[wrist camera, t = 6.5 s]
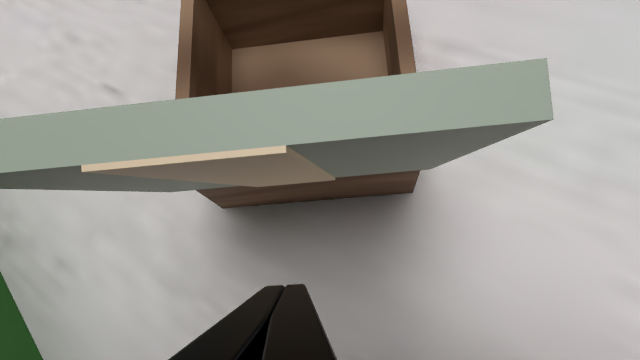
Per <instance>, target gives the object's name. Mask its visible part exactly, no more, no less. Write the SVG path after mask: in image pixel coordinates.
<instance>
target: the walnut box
mask: <svg viewBox="0 0 640 360" xmlns="http://www.w3.org/2000/svg"><path fill="white" fill-rule="evenodd" d="M409 73H416V67H415V60H414V53H413V46H412V39H411V31H410V24H409V17H408V10H407V3H406V0H181V12H180V29H179V46H178V63H177V80H176V97H175V100H176V99H185V98H194V97H203V96H212V95H221V94H230V93H239V92H248V91H257V90H266V89H275V88H284V87H293V86H302V85H311V84H320V83H328V82H337V81H346V80H355V79H364V78H373V77H382V76H391V75H400V74H409ZM419 172H420V170H416V171H404V172H393V173H382V174H370V175H359V176H348V177H336V178H335V180H332V181H321V182H310V183H298V184H287V185H275V186H264V187H251V186H234V187H223V188H211V189H200V190H196V191H198V192H199V193H201V194H202V195H204V196H205V197H207V198H208V199H210V200H211V201H213V202H214V203H216V204H217V205H219V206H220V207H222V208H232V207H244V206H256V205H268V204H280V203H292V202H304V201H316V200H328V199H340V198H352V197H364V196H376V195H389V194H401V193H413V190H414V187H415V184H416V181H417V178H418V175H419Z"/></svg>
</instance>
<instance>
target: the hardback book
mask: <svg viewBox="0 0 640 360" xmlns="http://www.w3.org/2000/svg"><path fill="white" fill-rule="evenodd" d="M0 360H43V358H42V356H41V354H40V352H39V350H38V348H37V346H36V344H35V342H34V340H33V338H32V336H31V334H30V332H29V330H28V328H27V326H26V324H25V322H24V319H23V317H22V315H21V313H20V311H19V309H18V307H17V305H16V303H15V301H14V299H13V297H12V295H11V293H10V291H9V289H8V287H7V285H6V282H5V280H4V278H3V276H2V274H1V272H0Z"/></svg>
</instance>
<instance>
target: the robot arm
mask: <svg viewBox="0 0 640 360" xmlns="http://www.w3.org/2000/svg"><path fill="white" fill-rule="evenodd" d="M168 360H337V358H336V356H335V353H334V351H333V349H332V347H331V344H330V342H329V340H328V337H327V335H326V333H325V330H324V328H323V326H322V323H321V321H320V319H319V316H318V314H317V312H316V309H315V307H314V305H313V302H312V300H311V298H310V295H309V293H308V291H307V288H306V286H305V285H304V284H295V285H287V286H286V287H284V286H282V285H278V286H266V287H264V288H263V289H261V290H260V291H259V292H257V293H256V294H255V295H253V296H252V297H251V298H249V299H248V300H247V301H246V302H244V303H243V304H242V305H240V306H239V307H238V308H236V309H235V310H234V311H232V312H231V313H230V314H228V315H227V316H226V317H224V318H223V319H222V320H220V321H219V322H218V323H216V324H215V325H214V326H212V327H211V328H210V329H208V330H207V331H206V332H204V333H203V334H202V335H200V336H199V337H198V338H196V339H195V340H194V341H192V342H191V343H190V344H188V345H187V346H186V347H184V348H183V349H182V350H180V351H179V352H178V353H176V354H175V355H174V356H172V357H171V358H170V359H168Z"/></svg>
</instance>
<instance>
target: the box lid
mask: <svg viewBox="0 0 640 360" xmlns="http://www.w3.org/2000/svg"><path fill="white" fill-rule="evenodd" d="M551 120H553V110H552V101H551V92H550V83H549V74H548V65H547V58H544V59H535V60H526V61H517V62H508V63H499V64H490V65H481V66H472V67H463V68H454V69H445V70H436V71H427V72H418V73H409V74H400V75H391V76H382V77H373V78H364V79H355V80H346V81H337V82H328V83H320V84H311V85H302V86H293V87H284V88H275V89H266V90H257V91H248V92H239V93H230V94H221V95H212V96H203V97H194V98H185V99H176V100H167V101H158V102H149V103H140V104H131V105H122V106H113V107H104V108H95V109H86V110H77V111H68V112H59V113H50V114H41V115H32V116H23V117H14V118H5V119H0V189H42V190H91V191H140V192H177V191H188V190H200V189H211V188H223V187H234V186H251V187H264V186H275V185H287V184H298V183H310V182H321V181H332V180H335V178H336V177H348V176H359V175H370V174H382V173H393V172H404V171H416V170H427V169H432V168H434V167H437V166H439V165H442V164H444V163H447V162H449V161H452V160H454V159H457V158H459V157H461V156H464V155H466V154H469V153H471V152H474V151H476V150H479V149H481V148H484V147H486V146H489V145H491V144H494V143H496V142H499V141H501V140H504V139H506V138H509V137H511V136H514V135H516V134H518V133H521V132H523V131H526V130H528V129H531V128H533V127H536V126H538V125H541V124H543V123H546V122H548V121H551Z"/></svg>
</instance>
